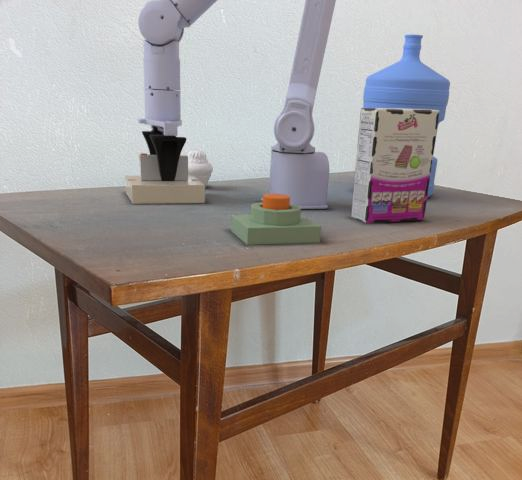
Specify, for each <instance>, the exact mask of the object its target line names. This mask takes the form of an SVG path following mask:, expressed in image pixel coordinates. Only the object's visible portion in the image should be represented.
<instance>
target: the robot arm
mask: <svg viewBox="0 0 522 480" xmlns="http://www.w3.org/2000/svg"><path fill="white" fill-rule="evenodd" d="M336 1H337V0H305V2H304V6H303V11H302V17H301V22H300V26H299V31H298V37H297V41H296V47H295V53H294V58H293V61H292V68H291V72H290V76H289V77H290V78H289V82H288V87H287V91H286V96H285V101H284V105H283V108H282V110H281V111H280V113H279V114H278V116H277V117H276V119H275V121H274V125H273V135H274V138H275V141H277V143H276V144H274V145H272V146H271V147H270V148H271V150H270V167H269V169H270V170H269V187H268V194H283V195H288V196H290V204H293V205H297V206H299V207H301V210H327V209H329V206H328V205H327V202H328V201H327V200H328V191H329V190H328V188H329V179H330V161H329V157H328V155H327V154H326V153H325V152H323V151H316V147H315V146H313V145H312V144H311V142H312V140H313V138H314V135H315V122H314V119H313V110H314V105H315V100H316V95H317V92H318V91H317V90H318V85H319V80H320V77H321V71H322V66H323V63H324V62H323V61H324V58H325V52H326V48H327V44H328V39H329V34H330V31H331V30H330V29H331V25H332V20H333V15H334V11H335V7H336ZM216 2H218V0H149V1H147V2H145V4H144V6H143V8H142V9H141V10H140V12H139V15H138V20H137V21H138V22H137V23H138V29H139V32H140V34H141V35H142V37H143V38H144V39H143V57H142V59H143V61H142V62H143V88H144V92H143V93H144V117H137V123H138V124H144V125H146V126H147V125H148V126H150V129H151V130H142V131H141V134H142V136H143V139H144V140H145V142H146V145H147V148H148V152H149V155H157V160H158V166H159V173H160V177H161V180H162V181H175V177H176V173H177V167H178V162H179V157H180V155H182V154H181V153H182V151H183V149H184V146H185V144H186V143H187V137H186V136H178V127H181V126H182V125H183V120H182V118H181V117H182V116H181V110H182V109H181V59H180V42H181V40H182V39H183V36H184V32H185V28H191V26H192V25H193V24H195V22H197V21H198V20H199V18H201V17H202V15H204V14H205V13H206V12H207V11H208V10H209V9H210V8H211V7H212V6H213V5H214V4H215V3H216ZM260 201H261V202H263V197H261V198H260Z"/></svg>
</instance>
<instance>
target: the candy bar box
mask: <svg viewBox="0 0 522 480" xmlns="http://www.w3.org/2000/svg"><path fill="white" fill-rule="evenodd" d="M439 112H440V111H438V110H431V109H410V108H363V107H361V108H360V115H359V125H358V137H357V146H356V159H355V169H354V178H355V179H354V178H353V190H352V199H351V202H352V203H351V212H350V218H352V219H353V220H356V221H358V222H362V223H364V224H383V223H384V224H386V223H402V222H416V221H417V222H420V221H424V220H425V215H426V208H427V201H428V198H427V195H428V188H429V180H430V174H431V165H432V160H433V157H434V154H433V153H434V152H435V148H434V146H435V147H436V141H435V139H436V140H437V135H436V132H437V133H438V129H437V125H438V126H439V124H438V118H439Z"/></svg>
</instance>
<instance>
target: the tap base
mask: <svg viewBox="0 0 522 480" xmlns="http://www.w3.org/2000/svg"><path fill="white" fill-rule="evenodd" d="M199 180H200V179H196V178H195V177H193V176H188V180H175V181H162V180H140V175H124V181H125V182H124V183H125V194H126V196H127V197H128V199H129V200H130V203H132V205H147V204H148V205H150V204H153V205H154V204H155V205H156V204H157V205H158V204H160V205H161V204H163V205H164V204H205V203H206V187H205V185H204V184H203V183H202V182H200V181H199Z"/></svg>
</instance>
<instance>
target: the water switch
mask: <svg viewBox="0 0 522 480" xmlns="http://www.w3.org/2000/svg"><path fill="white" fill-rule="evenodd" d="M249 210H250V211H249V214H248V213H247V214H231V215H230V232H232V233H233V234H234V235H235V236H237V237H238V238H239V239H240V240H241V241H242V242H243V243H245V245H247V246H248V245H251V246H252V245H276V244H277V245H279V244H306V243H307V244H309V243H321V234H322V225H320V224H318V223H317V222H314V221H313V220H311V219H309V218H308V217H306V216H304V215H302V214H301V213H302V209H301V207H299V206H297V205H293V204H290V208H289V209H287V210H273V209H266V208H262V201H261V202H253V203H252V204H251V205H250V209H249Z"/></svg>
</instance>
